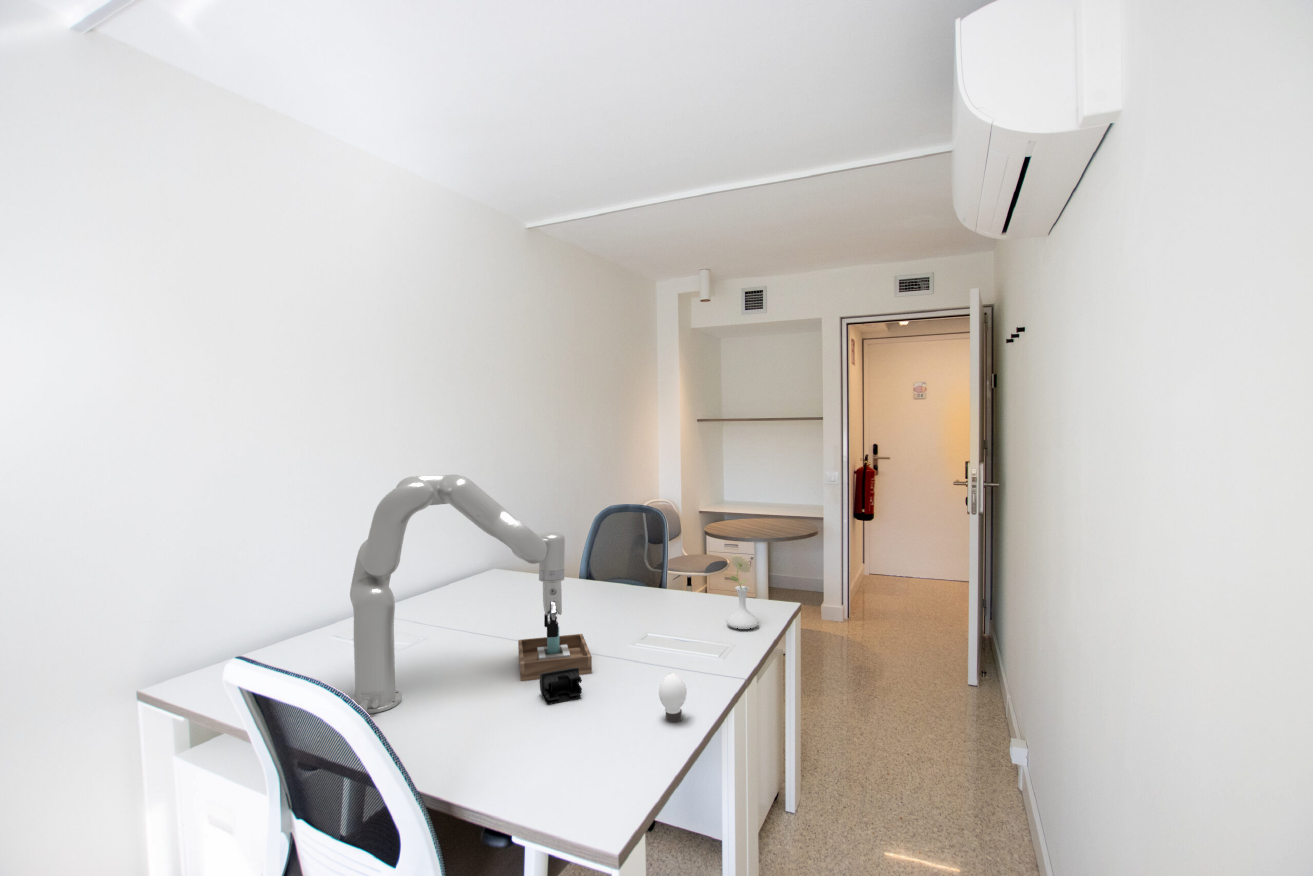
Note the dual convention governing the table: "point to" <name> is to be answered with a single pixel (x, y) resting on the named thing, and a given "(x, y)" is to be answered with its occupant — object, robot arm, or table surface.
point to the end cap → (560, 686)
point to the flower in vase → (741, 599)
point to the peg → (553, 645)
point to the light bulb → (672, 696)
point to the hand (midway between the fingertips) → (551, 631)
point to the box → (553, 656)
